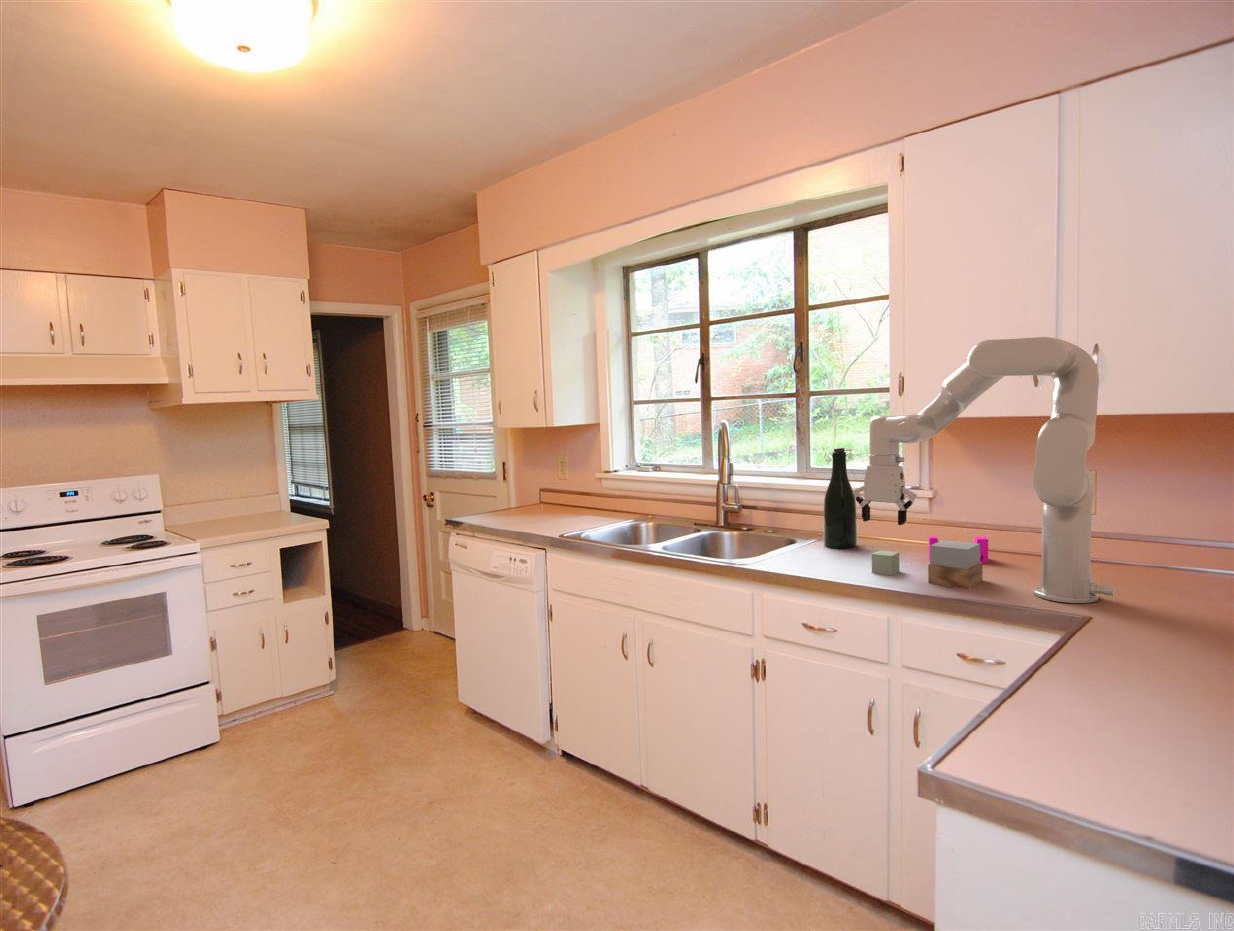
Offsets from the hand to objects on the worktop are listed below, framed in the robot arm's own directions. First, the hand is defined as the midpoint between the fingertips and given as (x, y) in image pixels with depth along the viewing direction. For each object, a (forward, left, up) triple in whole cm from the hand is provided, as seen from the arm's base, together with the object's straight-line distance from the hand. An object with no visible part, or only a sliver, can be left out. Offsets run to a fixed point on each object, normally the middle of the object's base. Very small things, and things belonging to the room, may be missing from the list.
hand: (883, 522), depth 184 cm
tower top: (-18, 0, -9) cm, 21 cm away
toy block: (-12, -24, -14) cm, 30 cm away
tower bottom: (-19, 0, -14) cm, 23 cm away
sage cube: (0, 0, -14) cm, 14 cm away
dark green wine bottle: (+25, -25, -14) cm, 38 cm away
